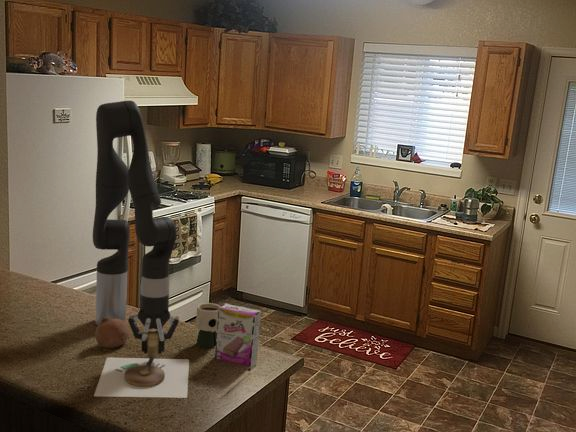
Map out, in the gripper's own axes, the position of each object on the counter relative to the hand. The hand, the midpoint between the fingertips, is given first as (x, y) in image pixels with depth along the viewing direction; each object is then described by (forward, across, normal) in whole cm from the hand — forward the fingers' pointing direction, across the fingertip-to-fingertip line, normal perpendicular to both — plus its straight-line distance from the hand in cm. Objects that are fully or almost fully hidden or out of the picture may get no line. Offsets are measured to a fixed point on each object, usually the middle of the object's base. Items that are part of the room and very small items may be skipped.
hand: (152, 352), depth 173 cm
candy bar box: (+5, -23, -3) cm, 23 cm away
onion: (+4, +12, -12) cm, 18 cm away
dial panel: (+4, +1, +10) cm, 11 cm away
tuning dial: (+2, +1, +7) cm, 7 cm away
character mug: (+5, -15, -13) cm, 20 cm away
